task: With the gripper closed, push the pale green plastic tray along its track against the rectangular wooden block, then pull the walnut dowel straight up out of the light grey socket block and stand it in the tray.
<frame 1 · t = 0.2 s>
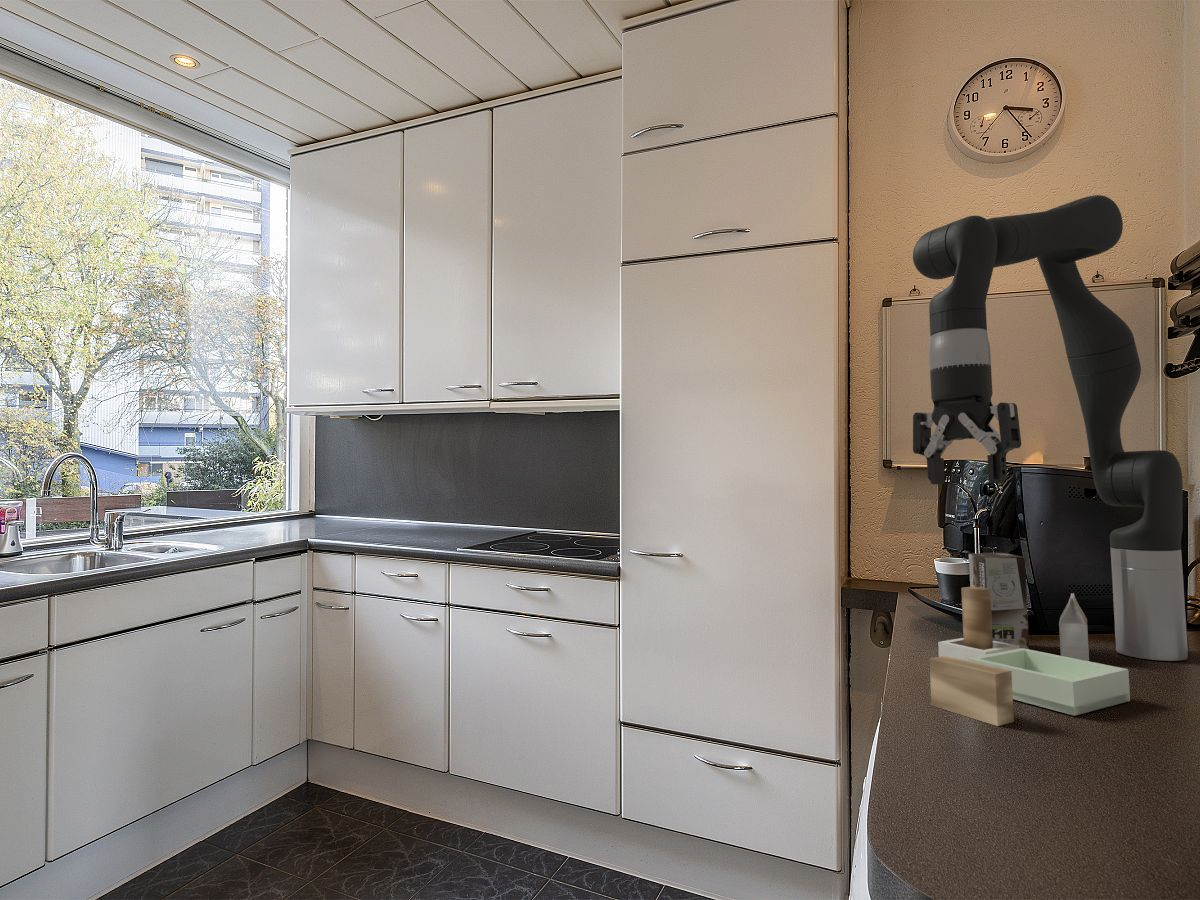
hand: (965, 483, 96), 28 cm above the countertop, tool pointing down, fingers open, 8 cm apart
rectangular wooden block: (971, 713, 88), on the countertop
coffee box: (1000, 649, 121), on the countertop
socket block: (979, 666, 110), on the countertop
white gable carton: (1075, 659, 114), on the countertop
tray: (1045, 678, 95), point 2 cm above the countertop, slide at 0.0 cm
dowel: (977, 627, 110), in the socket block
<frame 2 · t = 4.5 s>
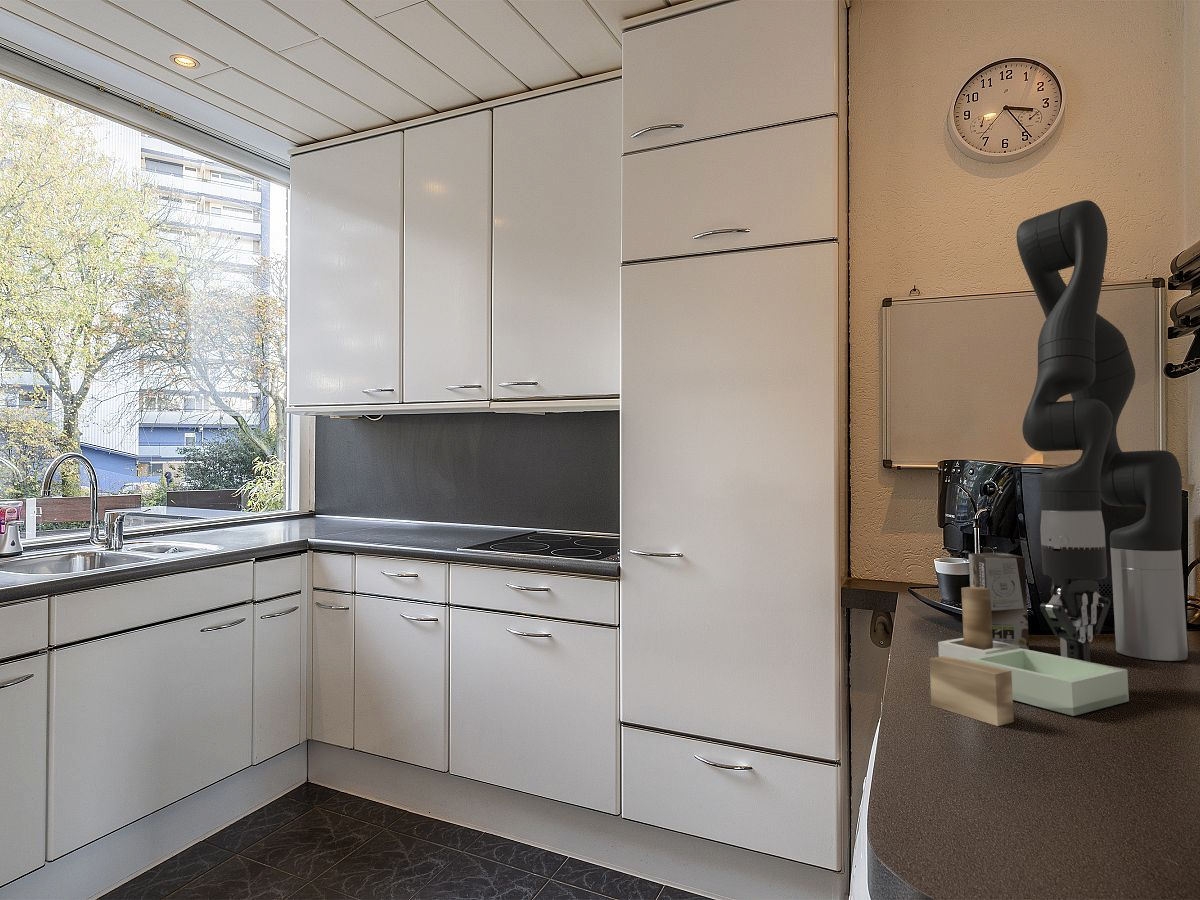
hand: (1079, 668, 98), 3 cm above the countertop, tool pointing down, fingers closed
tray: (1044, 678, 94), point 2 cm above the countertop, slide at 0.3 cm, touching gripper
everything else where it was.
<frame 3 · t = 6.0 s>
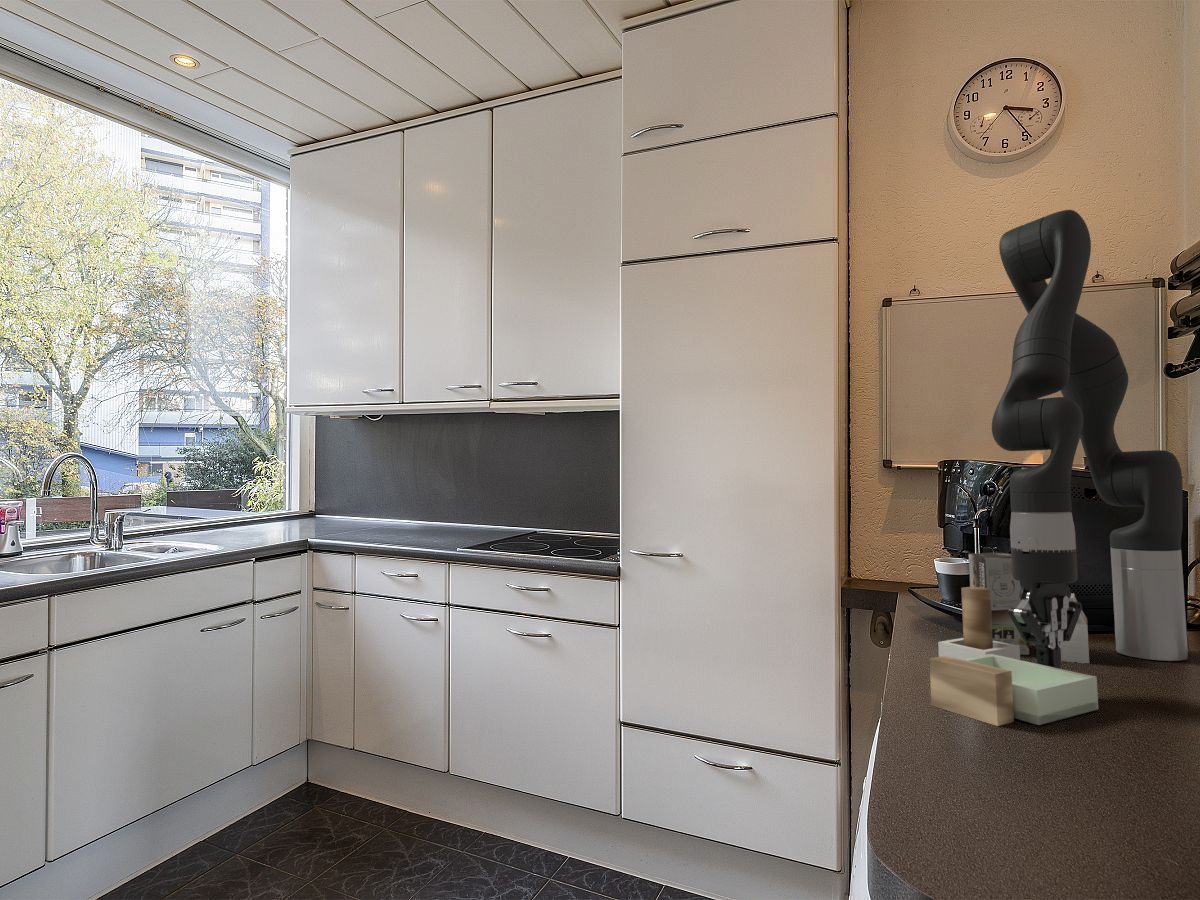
hand: (1049, 675, 95), 3 cm above the countertop, tool pointing down, fingers closed
tray: (1012, 686, 91), point 2 cm above the countertop, slide at 7.0 cm, touching gripper
everything else where it was.
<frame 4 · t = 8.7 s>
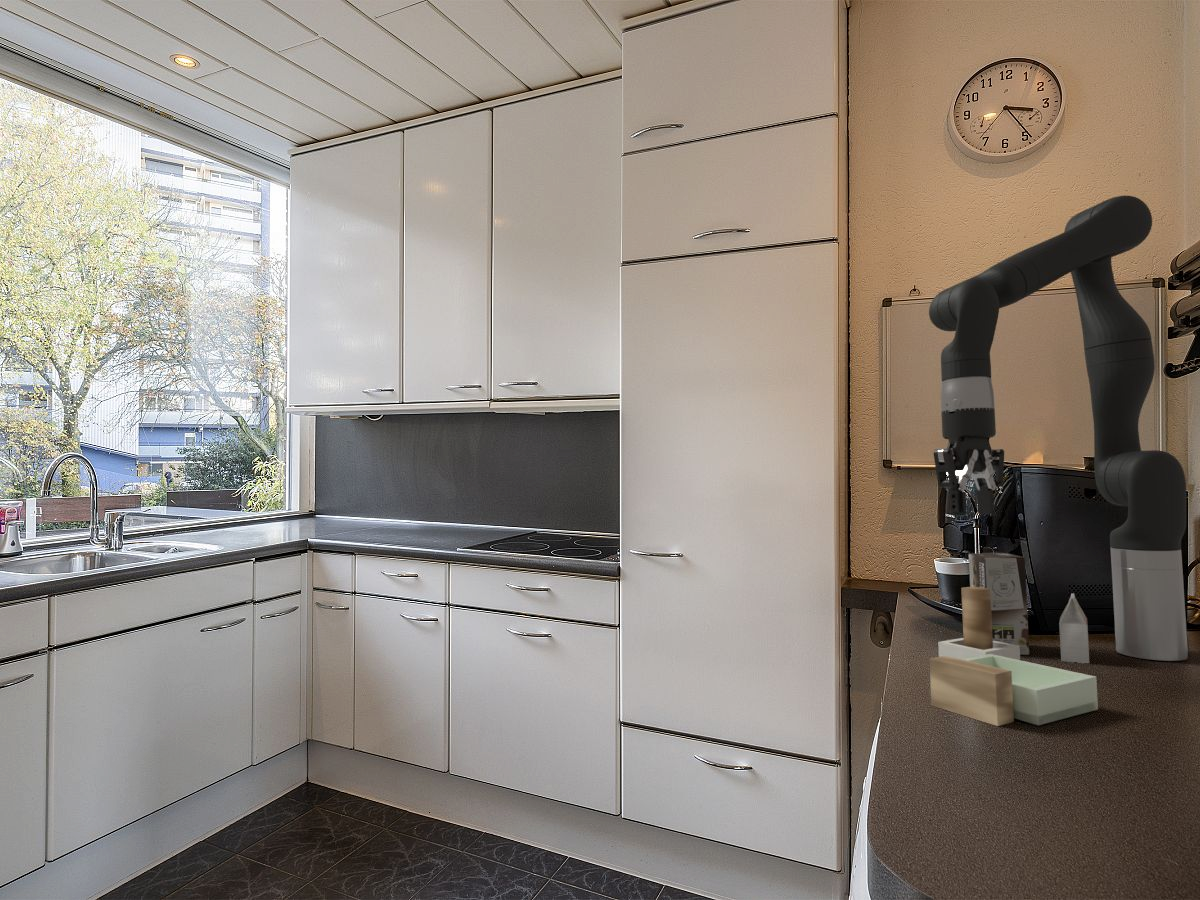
hand: (972, 514, 111), 24 cm above the countertop, tool pointing down, fingers open, 6 cm apart
tray: (1012, 686, 91), point 2 cm above the countertop, slide at 7.1 cm
everything else where it was.
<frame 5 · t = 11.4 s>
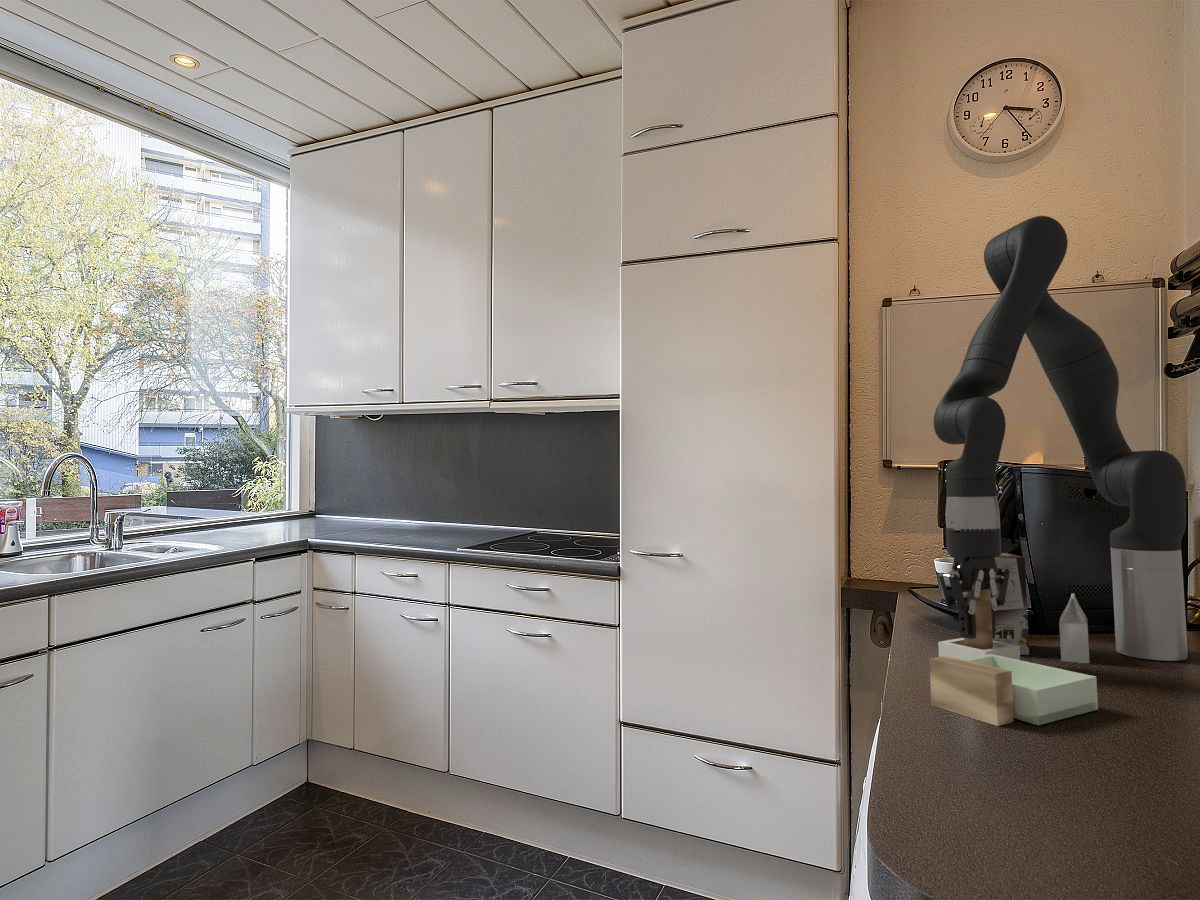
hand: (977, 635, 110), 5 cm above the countertop, tool pointing down, fingers closed on dowel, 4 cm apart
dowel: (977, 627, 110), in the socket block, touching gripper
everything else where it was.
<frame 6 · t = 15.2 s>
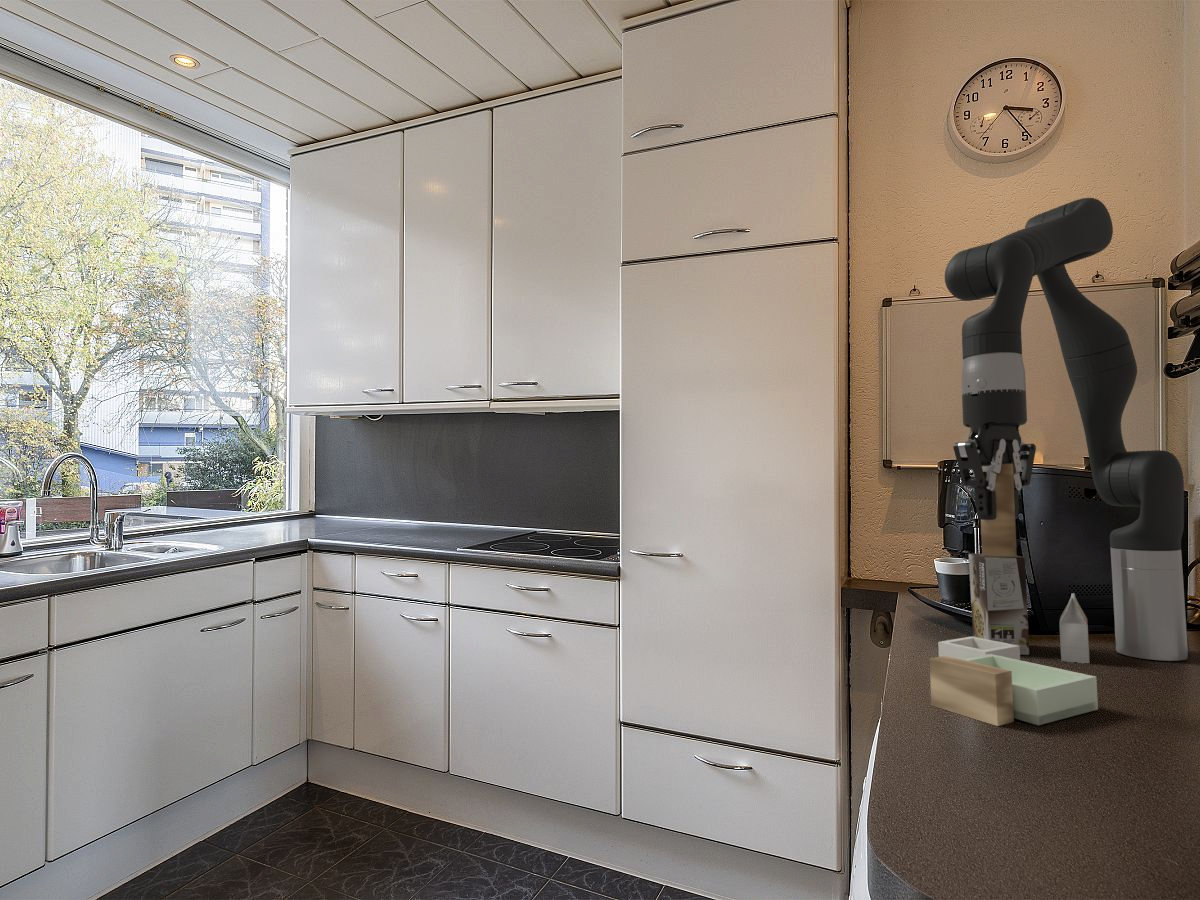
hand: (998, 518, 94), 24 cm above the countertop, tool pointing down, fingers closed on dowel, 4 cm apart
dowel: (997, 509, 94), point 25 cm above the countertop, touching gripper
everything else where it was.
when the fingers open (7 cm above the countertop, at t = 18.8 s): dowel drops 1 cm, resting on tray.
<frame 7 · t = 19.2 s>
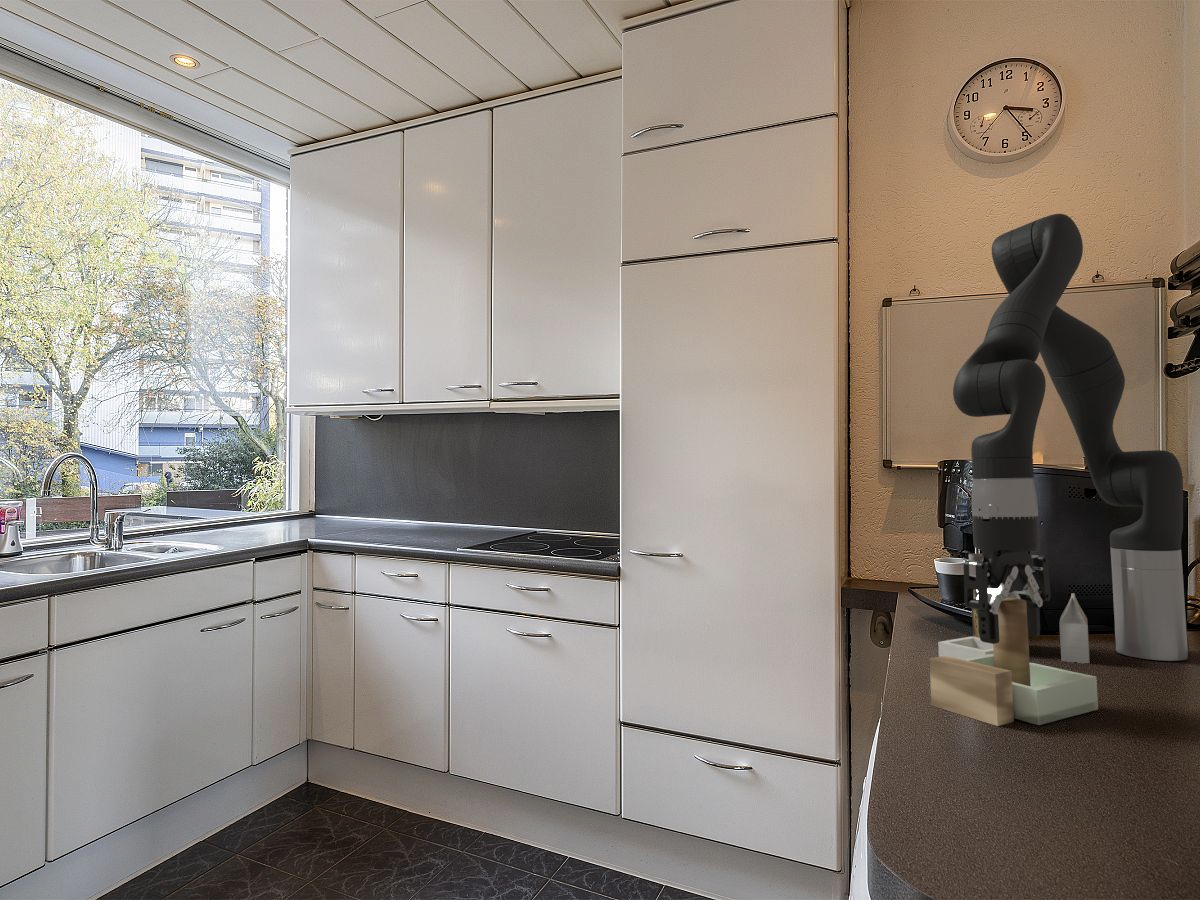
hand: (1010, 638, 92), 8 cm above the countertop, tool pointing down, fingers open, 8 cm apart
tray: (1012, 686, 91), point 2 cm above the countertop, slide at 7.1 cm, touching dowel
dowel: (1010, 646, 92), point 7 cm above the countertop, touching tray
everything else where it was.
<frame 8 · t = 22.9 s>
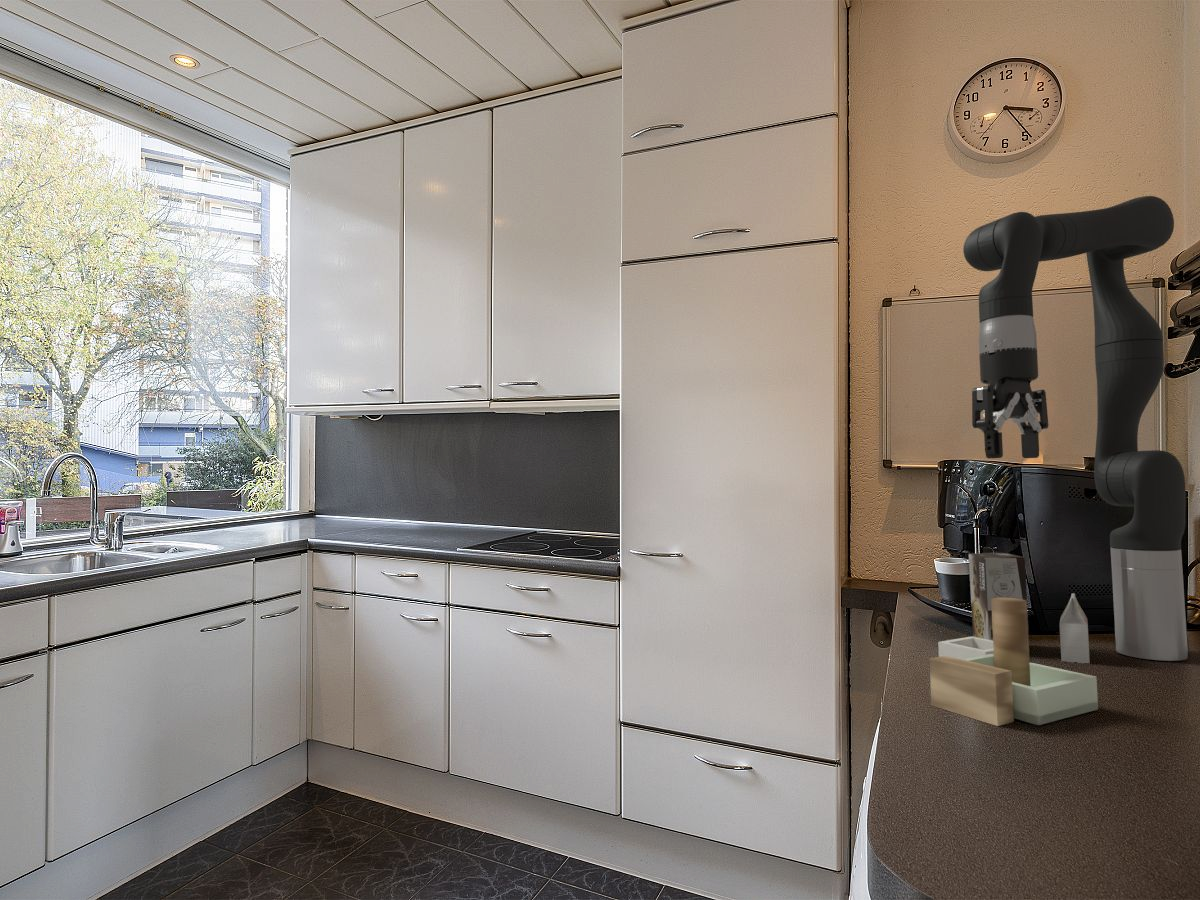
hand: (1012, 458, 105), 32 cm above the countertop, tool pointing down, fingers open, 8 cm apart
nothing on the countertop moved.
at the end: tray slide at 7.1 cm; dowel 0.2 cm off-centre on the tray, point 7.2 cm above the tray's base; dowel tilted 0° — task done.
